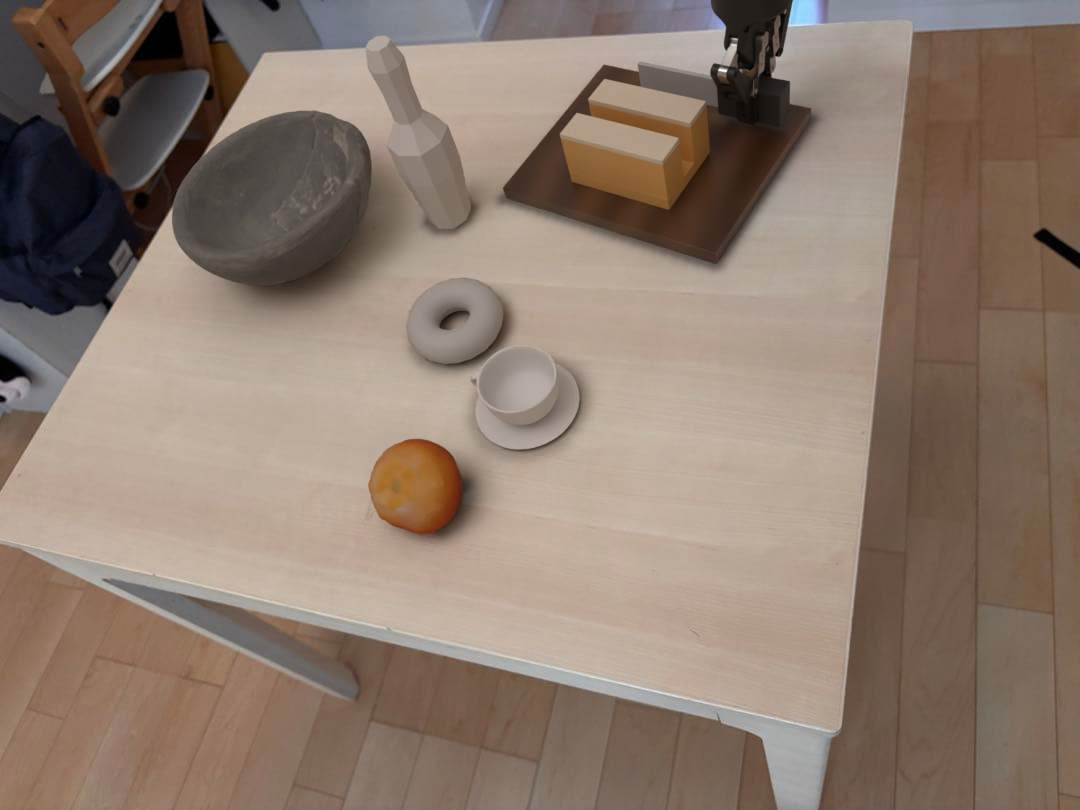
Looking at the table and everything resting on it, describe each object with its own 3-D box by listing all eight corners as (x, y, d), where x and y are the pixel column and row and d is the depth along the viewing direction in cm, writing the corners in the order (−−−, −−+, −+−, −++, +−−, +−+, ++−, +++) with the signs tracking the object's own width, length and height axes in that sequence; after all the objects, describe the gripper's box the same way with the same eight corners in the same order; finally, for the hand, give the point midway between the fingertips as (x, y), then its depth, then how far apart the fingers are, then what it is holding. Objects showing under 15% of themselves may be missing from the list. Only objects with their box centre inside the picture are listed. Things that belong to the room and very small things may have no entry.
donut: (525, 309, 88) (447, 280, 92) (518, 287, 85) (438, 259, 89) (472, 384, 84) (393, 351, 88) (462, 364, 81) (381, 331, 85)
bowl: (263, 167, 110) (222, 103, 102) (421, 172, 103) (391, 103, 94) (178, 309, 99) (124, 250, 91) (348, 326, 92) (306, 263, 84)
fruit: (495, 457, 77) (446, 457, 70) (468, 540, 78) (417, 548, 71) (424, 427, 80) (371, 424, 73) (399, 506, 81) (344, 511, 74)
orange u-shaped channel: (710, 152, 92) (706, 100, 86) (669, 210, 88) (662, 160, 83) (613, 128, 97) (604, 78, 92) (571, 181, 94) (559, 133, 88)
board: (810, 119, 93) (811, 108, 92) (716, 263, 85) (715, 253, 84) (605, 74, 105) (603, 64, 104) (505, 197, 97) (502, 187, 96)
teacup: (595, 372, 81) (586, 342, 78) (558, 462, 77) (547, 435, 73) (500, 354, 85) (487, 325, 81) (460, 439, 81) (444, 412, 77)
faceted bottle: (413, 226, 98) (332, 58, 80) (445, 188, 100) (373, 17, 82) (456, 241, 95) (382, 71, 77) (488, 202, 97) (423, 27, 79)
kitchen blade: (789, 113, 90) (790, 80, 87) (779, 128, 89) (780, 96, 86) (647, 82, 98) (643, 51, 95) (637, 95, 97) (632, 65, 94)
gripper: (755, 7, 73) (757, 164, 87) (824, -86, 78) (816, 77, 92) (676, -6, 76) (691, 147, 90) (747, -94, 81) (750, 64, 95)
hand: (754, 111), depth 91 cm, fingers closed on kitchen blade, 2 cm apart
